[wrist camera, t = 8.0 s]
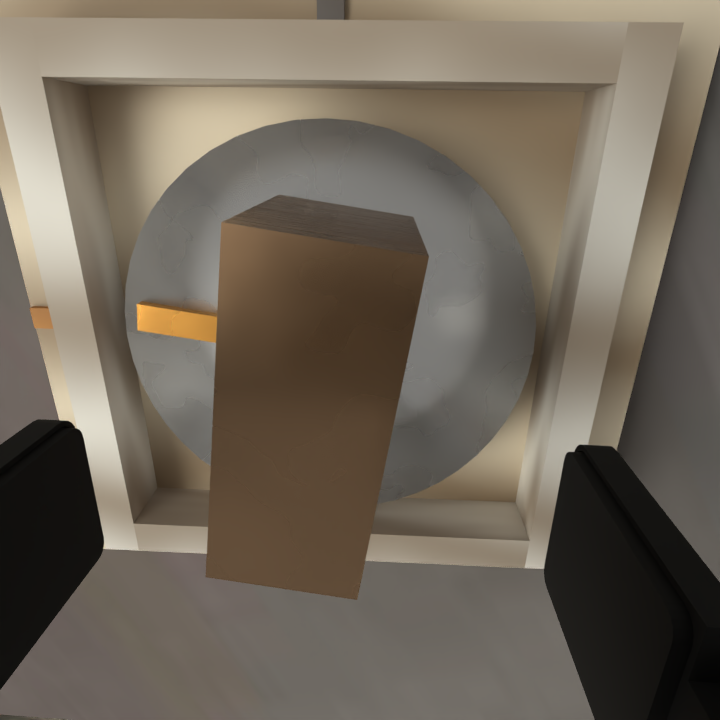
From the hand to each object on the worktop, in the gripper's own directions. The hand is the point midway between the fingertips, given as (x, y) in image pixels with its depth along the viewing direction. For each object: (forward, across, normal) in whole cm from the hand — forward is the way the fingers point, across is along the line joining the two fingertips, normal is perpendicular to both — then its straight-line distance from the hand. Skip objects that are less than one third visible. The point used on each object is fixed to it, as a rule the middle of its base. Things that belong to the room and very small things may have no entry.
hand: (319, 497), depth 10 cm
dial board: (+9, +1, -1) cm, 9 cm away
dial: (+7, +1, -1) cm, 7 cm away
